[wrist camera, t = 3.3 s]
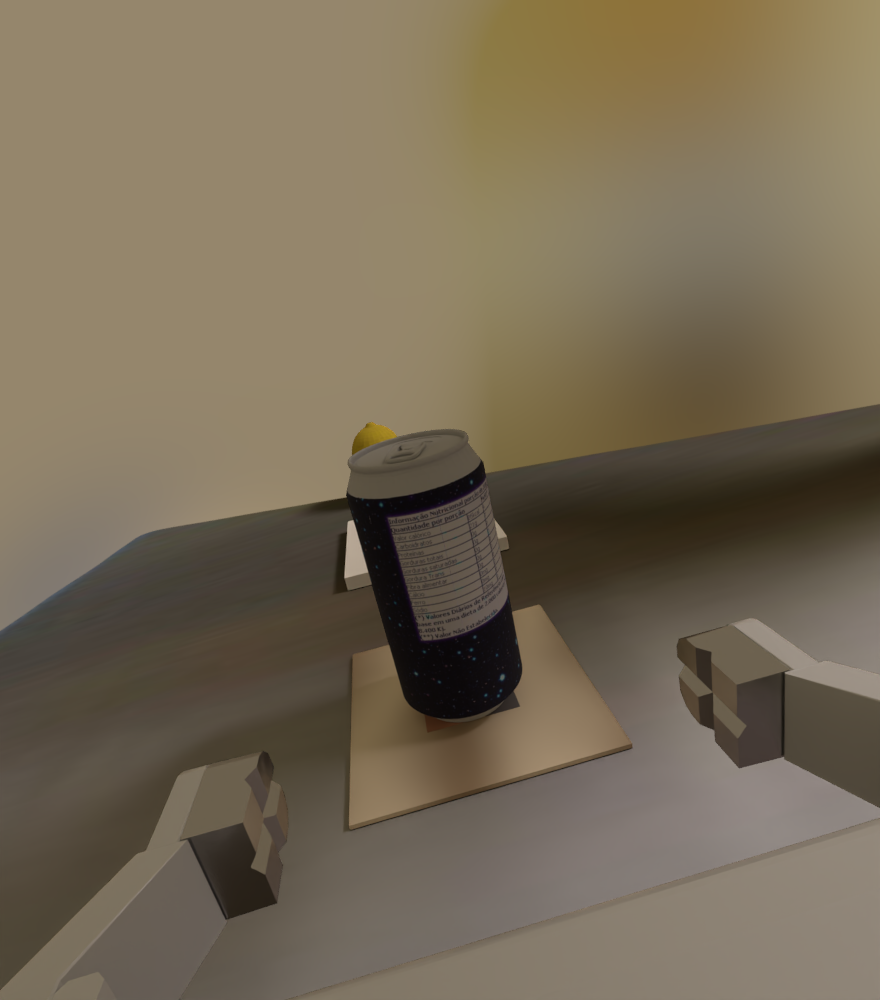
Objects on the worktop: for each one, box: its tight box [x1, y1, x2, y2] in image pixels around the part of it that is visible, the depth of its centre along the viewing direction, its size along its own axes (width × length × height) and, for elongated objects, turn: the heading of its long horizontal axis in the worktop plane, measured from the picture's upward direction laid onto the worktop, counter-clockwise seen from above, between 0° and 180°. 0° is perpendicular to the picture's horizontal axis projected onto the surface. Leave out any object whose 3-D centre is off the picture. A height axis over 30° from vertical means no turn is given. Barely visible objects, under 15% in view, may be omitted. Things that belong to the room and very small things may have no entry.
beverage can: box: [346, 429, 522, 723], centre depth 23 cm, size 6×6×12 cm
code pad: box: [349, 604, 632, 830], centre depth 25 cm, size 11×11×1 cm
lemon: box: [352, 422, 397, 455], centre depth 57 cm, size 6×6×8 cm
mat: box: [344, 519, 509, 591], centre depth 44 cm, size 12×12×1 cm
